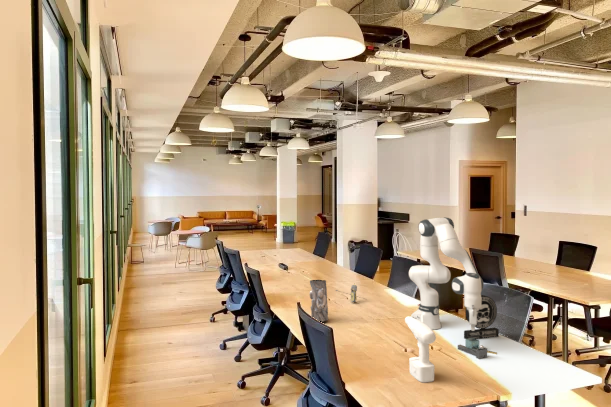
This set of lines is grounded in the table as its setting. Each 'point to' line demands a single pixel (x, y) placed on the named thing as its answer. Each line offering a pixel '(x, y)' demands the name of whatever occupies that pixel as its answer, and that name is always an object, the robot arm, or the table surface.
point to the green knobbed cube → (472, 343)
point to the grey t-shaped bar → (475, 351)
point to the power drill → (421, 351)
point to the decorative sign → (483, 320)
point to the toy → (353, 293)
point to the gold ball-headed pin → (491, 352)
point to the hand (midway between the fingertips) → (472, 328)
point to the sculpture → (319, 300)
